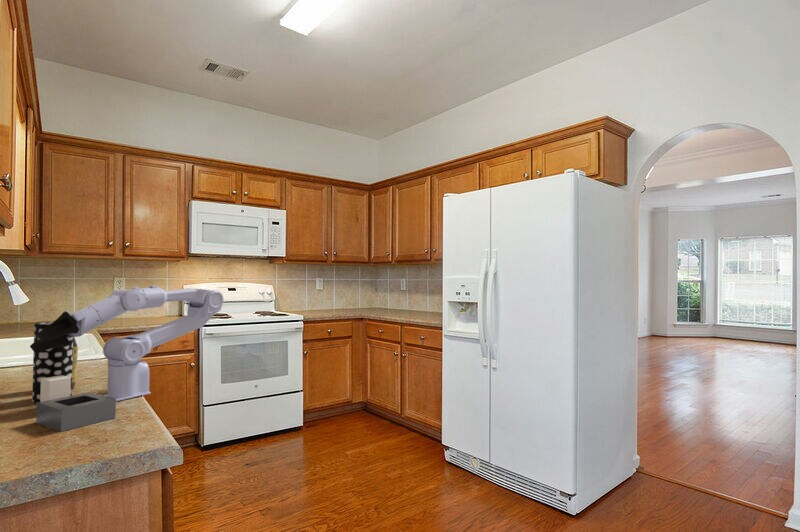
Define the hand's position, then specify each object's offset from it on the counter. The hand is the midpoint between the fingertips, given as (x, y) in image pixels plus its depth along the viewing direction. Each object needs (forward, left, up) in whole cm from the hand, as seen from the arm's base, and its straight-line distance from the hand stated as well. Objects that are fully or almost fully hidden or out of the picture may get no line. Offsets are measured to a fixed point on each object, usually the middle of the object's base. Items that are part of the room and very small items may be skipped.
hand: (35, 343), depth 107 cm
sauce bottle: (-16, -23, -17) cm, 33 cm away
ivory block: (-4, 0, -17) cm, 17 cm away
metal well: (-3, +12, -17) cm, 21 cm away
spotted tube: (-9, -13, -17) cm, 23 cm away
